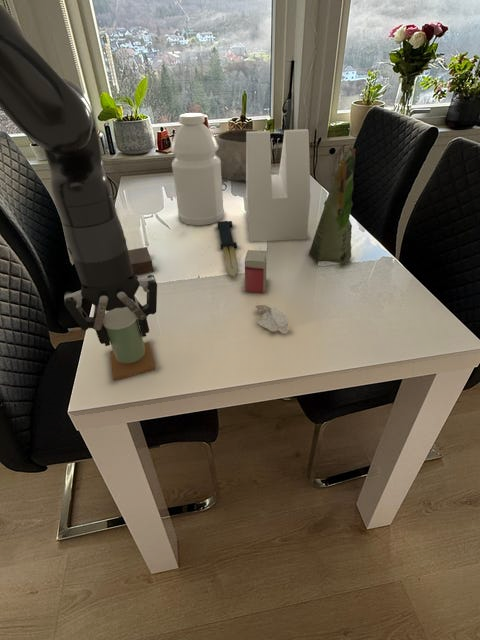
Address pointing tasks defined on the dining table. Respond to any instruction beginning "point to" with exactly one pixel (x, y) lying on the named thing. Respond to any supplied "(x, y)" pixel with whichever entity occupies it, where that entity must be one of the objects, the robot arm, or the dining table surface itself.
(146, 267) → the walnut wood block
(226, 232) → the knife
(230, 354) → the dining table surface
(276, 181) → the white slotted block
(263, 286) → the small box
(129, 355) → the tumbler
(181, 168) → the bottle
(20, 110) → the robot arm
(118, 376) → the coaster
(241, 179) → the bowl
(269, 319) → the tissue
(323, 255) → the pouch
